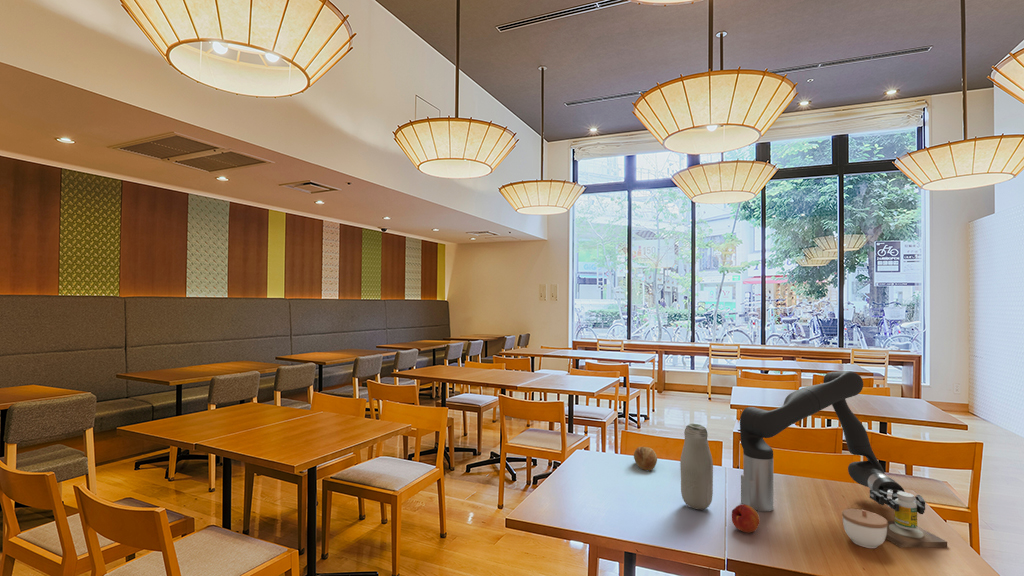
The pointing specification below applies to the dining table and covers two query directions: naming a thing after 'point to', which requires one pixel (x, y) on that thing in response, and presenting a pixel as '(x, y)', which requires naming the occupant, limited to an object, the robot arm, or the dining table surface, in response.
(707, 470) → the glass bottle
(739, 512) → the fruit
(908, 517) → the supplement bottle
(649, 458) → the bread roll
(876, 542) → the lidded jar
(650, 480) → the dining table surface
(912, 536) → the serving board
